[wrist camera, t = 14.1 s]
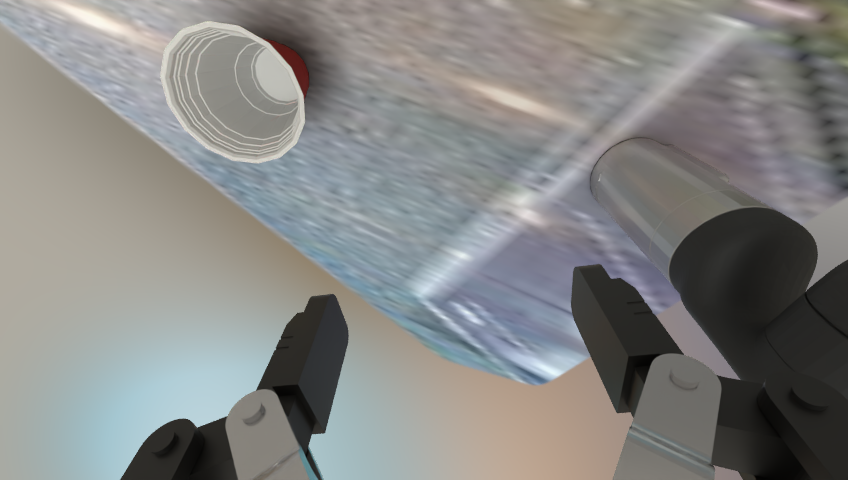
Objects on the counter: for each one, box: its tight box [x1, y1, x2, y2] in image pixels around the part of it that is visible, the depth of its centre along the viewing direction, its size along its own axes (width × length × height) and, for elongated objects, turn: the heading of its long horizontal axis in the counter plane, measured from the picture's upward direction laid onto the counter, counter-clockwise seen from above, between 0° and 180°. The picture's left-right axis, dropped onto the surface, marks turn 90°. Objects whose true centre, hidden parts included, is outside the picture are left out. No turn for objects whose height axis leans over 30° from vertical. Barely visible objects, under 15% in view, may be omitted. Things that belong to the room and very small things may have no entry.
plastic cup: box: [160, 21, 309, 163], centre depth 33 cm, size 11×11×12 cm
